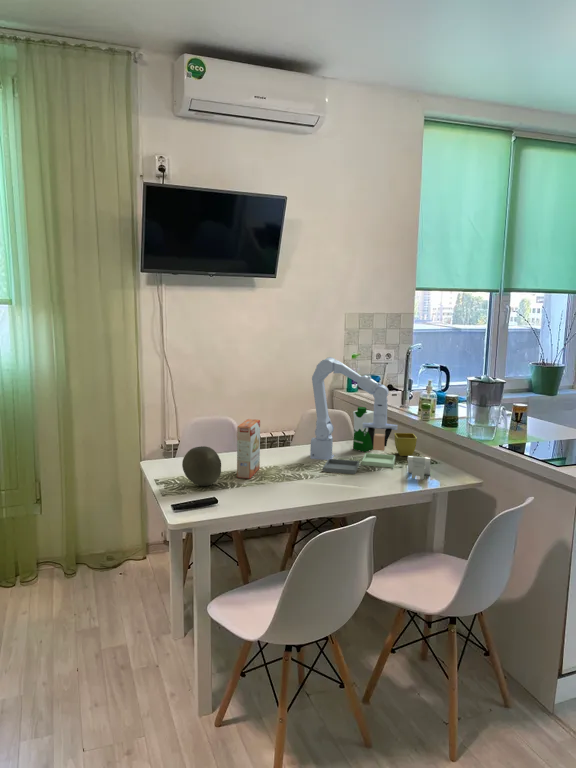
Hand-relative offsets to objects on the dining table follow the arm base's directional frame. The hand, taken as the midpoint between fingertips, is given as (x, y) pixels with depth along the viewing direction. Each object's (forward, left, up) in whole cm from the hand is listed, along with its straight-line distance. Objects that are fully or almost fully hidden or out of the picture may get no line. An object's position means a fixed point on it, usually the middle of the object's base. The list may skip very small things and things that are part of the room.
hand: (379, 445), depth 245 cm
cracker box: (-49, -28, -8) cm, 57 cm away
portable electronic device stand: (+17, -13, -8) cm, 23 cm away
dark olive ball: (-61, -47, -8) cm, 77 cm away
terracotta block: (0, 0, -2) cm, 2 cm away
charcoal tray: (-14, -13, -8) cm, 21 cm away
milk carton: (-9, +20, -8) cm, 23 cm away
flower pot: (+10, +16, -8) cm, 21 cm away
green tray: (0, 0, -8) cm, 8 cm away
